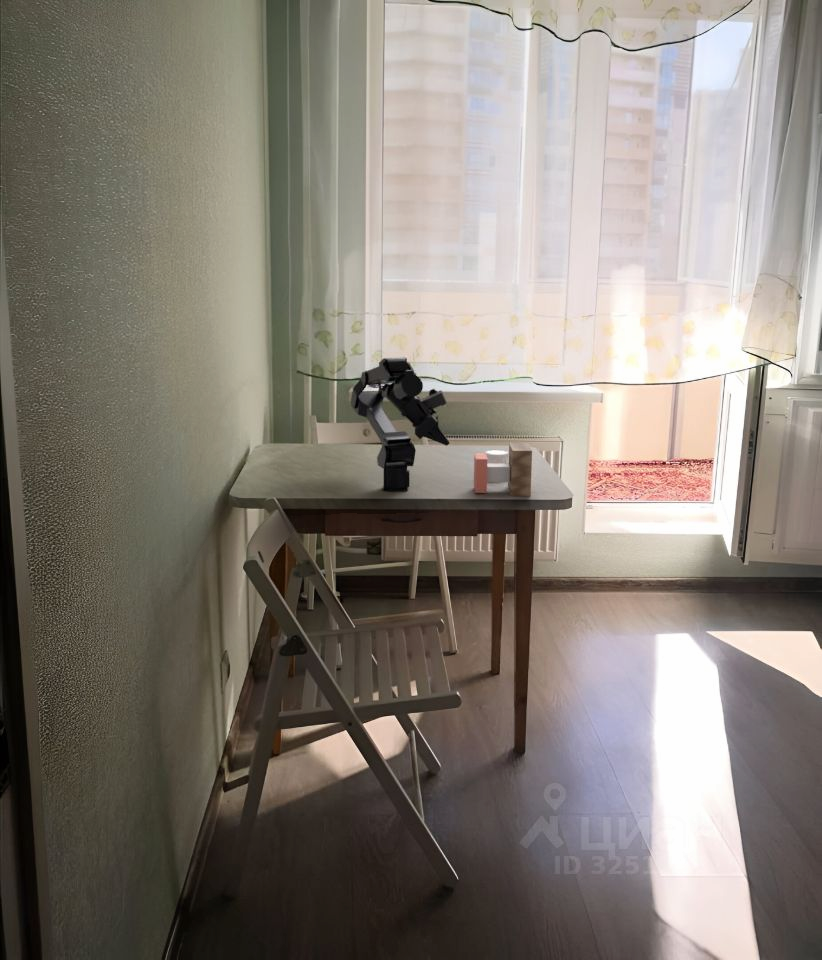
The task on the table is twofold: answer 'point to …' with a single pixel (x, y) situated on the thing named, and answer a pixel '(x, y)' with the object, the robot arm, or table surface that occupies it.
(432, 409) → the robot arm
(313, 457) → the table surface
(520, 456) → the block
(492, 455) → the shot glass
